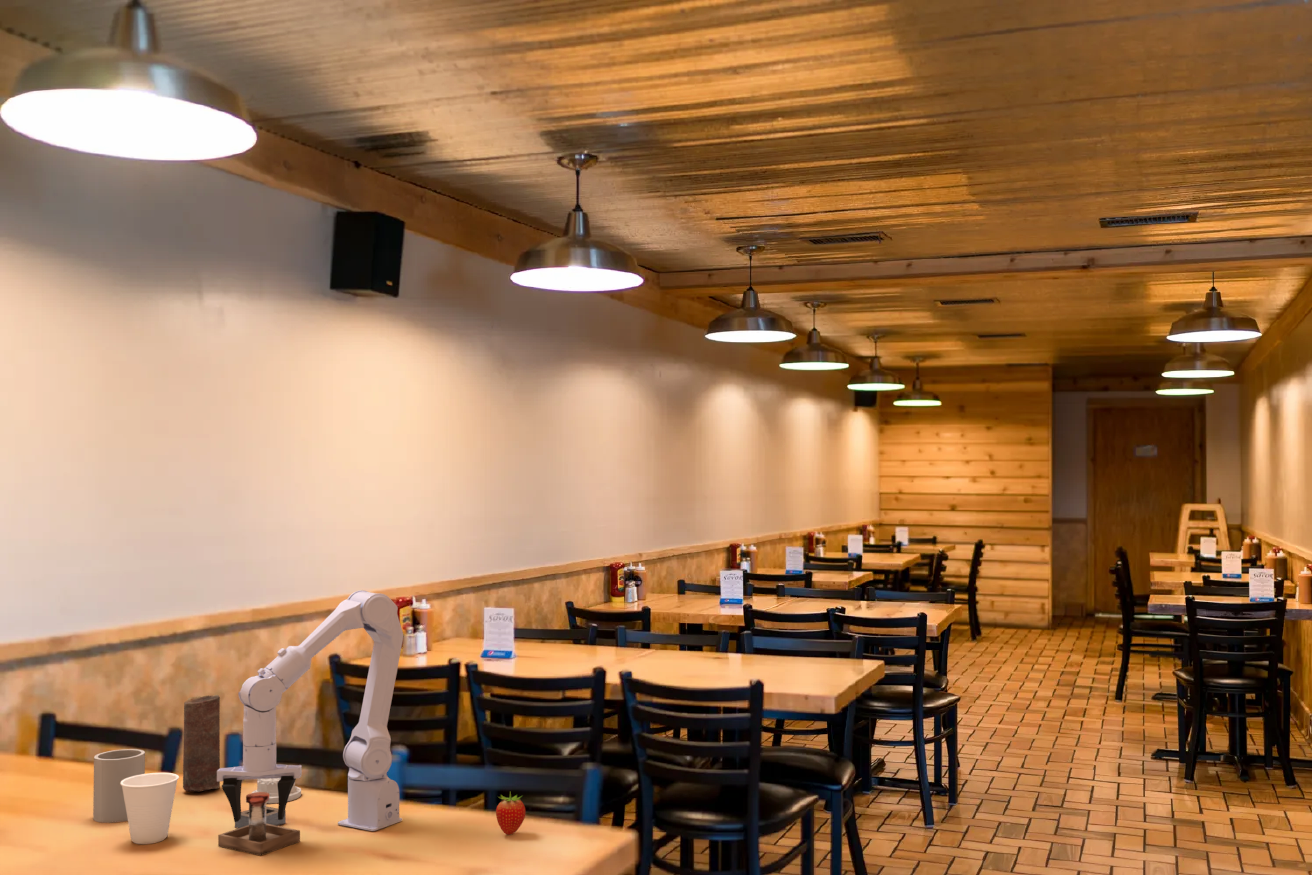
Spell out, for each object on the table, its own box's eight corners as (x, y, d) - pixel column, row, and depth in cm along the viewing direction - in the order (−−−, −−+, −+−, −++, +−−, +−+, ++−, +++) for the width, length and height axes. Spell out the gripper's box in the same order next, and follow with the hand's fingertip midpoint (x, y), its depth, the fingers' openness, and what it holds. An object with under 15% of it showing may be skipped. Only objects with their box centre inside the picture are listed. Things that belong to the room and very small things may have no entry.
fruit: (513, 828, 215) (513, 785, 216) (530, 834, 212) (530, 791, 212) (490, 835, 212) (490, 791, 212) (507, 841, 208) (507, 796, 208)
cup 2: (121, 851, 204) (121, 788, 205) (118, 836, 213) (119, 776, 213) (181, 842, 209) (181, 781, 209) (176, 828, 218) (176, 769, 218)
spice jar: (271, 835, 211) (271, 791, 211) (266, 842, 207) (266, 797, 207) (248, 836, 210) (249, 792, 210) (243, 843, 206) (243, 798, 207)
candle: (211, 795, 240) (211, 699, 241) (176, 796, 241) (177, 699, 241) (225, 786, 248) (225, 693, 249) (191, 786, 248) (192, 693, 249)
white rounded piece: (243, 805, 234) (291, 805, 234) (243, 783, 234) (291, 783, 234) (261, 792, 244) (307, 792, 244) (261, 771, 244) (307, 771, 244)
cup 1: (82, 819, 224) (83, 757, 224) (120, 807, 232) (120, 747, 233) (117, 824, 221) (118, 761, 221) (154, 811, 229) (155, 751, 230)
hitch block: (285, 823, 220) (285, 809, 220) (258, 832, 215) (258, 818, 215) (262, 818, 224) (262, 805, 224) (234, 827, 218) (234, 813, 218)
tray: (299, 841, 209) (299, 830, 209) (260, 855, 201) (260, 843, 201) (258, 832, 214) (258, 821, 215) (218, 846, 207) (218, 834, 207)
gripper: (304, 737, 213) (304, 811, 213) (223, 740, 212) (223, 814, 211) (297, 745, 206) (297, 822, 206) (213, 748, 205) (213, 825, 204)
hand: (259, 819), depth 208 cm, fingers open, 7 cm apart
